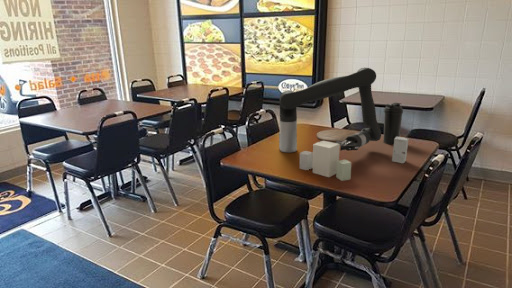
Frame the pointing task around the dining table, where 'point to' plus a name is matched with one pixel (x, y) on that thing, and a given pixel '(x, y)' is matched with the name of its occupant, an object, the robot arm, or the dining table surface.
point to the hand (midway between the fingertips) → (337, 149)
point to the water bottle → (392, 122)
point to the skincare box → (400, 149)
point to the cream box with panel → (325, 158)
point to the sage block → (343, 170)
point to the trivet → (333, 135)
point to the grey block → (306, 160)
